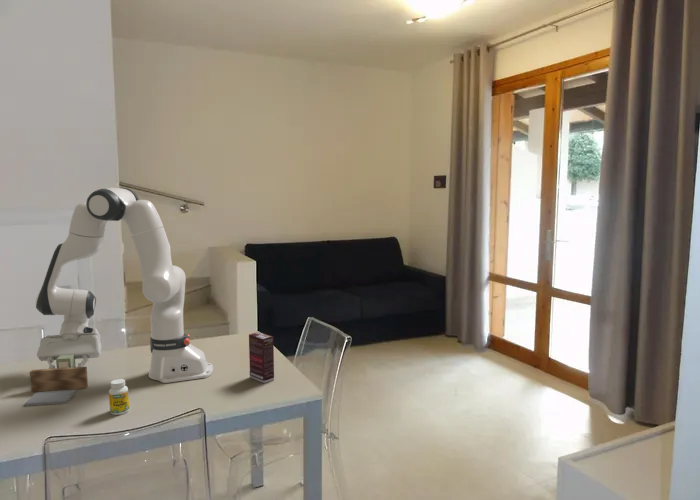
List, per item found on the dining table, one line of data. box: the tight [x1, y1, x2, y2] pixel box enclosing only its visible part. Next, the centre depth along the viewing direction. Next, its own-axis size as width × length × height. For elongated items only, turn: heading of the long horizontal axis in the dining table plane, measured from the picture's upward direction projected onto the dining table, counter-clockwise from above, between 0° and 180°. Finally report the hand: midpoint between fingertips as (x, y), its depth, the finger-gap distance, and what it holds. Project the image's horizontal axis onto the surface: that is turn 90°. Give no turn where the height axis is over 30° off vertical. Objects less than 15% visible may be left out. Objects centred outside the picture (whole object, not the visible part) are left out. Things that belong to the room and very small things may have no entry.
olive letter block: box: [55, 355, 77, 368], centre depth 179 cm, size 4×5×9 cm
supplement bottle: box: [108, 378, 130, 416], centre depth 155 cm, size 5×5×10 cm
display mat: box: [23, 389, 77, 407], centre depth 165 cm, size 12×9×1 cm
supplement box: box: [248, 331, 275, 384], centre depth 181 cm, size 9×5×16 cm, turn 47°
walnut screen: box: [29, 366, 89, 393], centre depth 172 cm, size 17×2×7 cm, turn 101°
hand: (65, 369), depth 179 cm, fingers open, 8 cm apart
